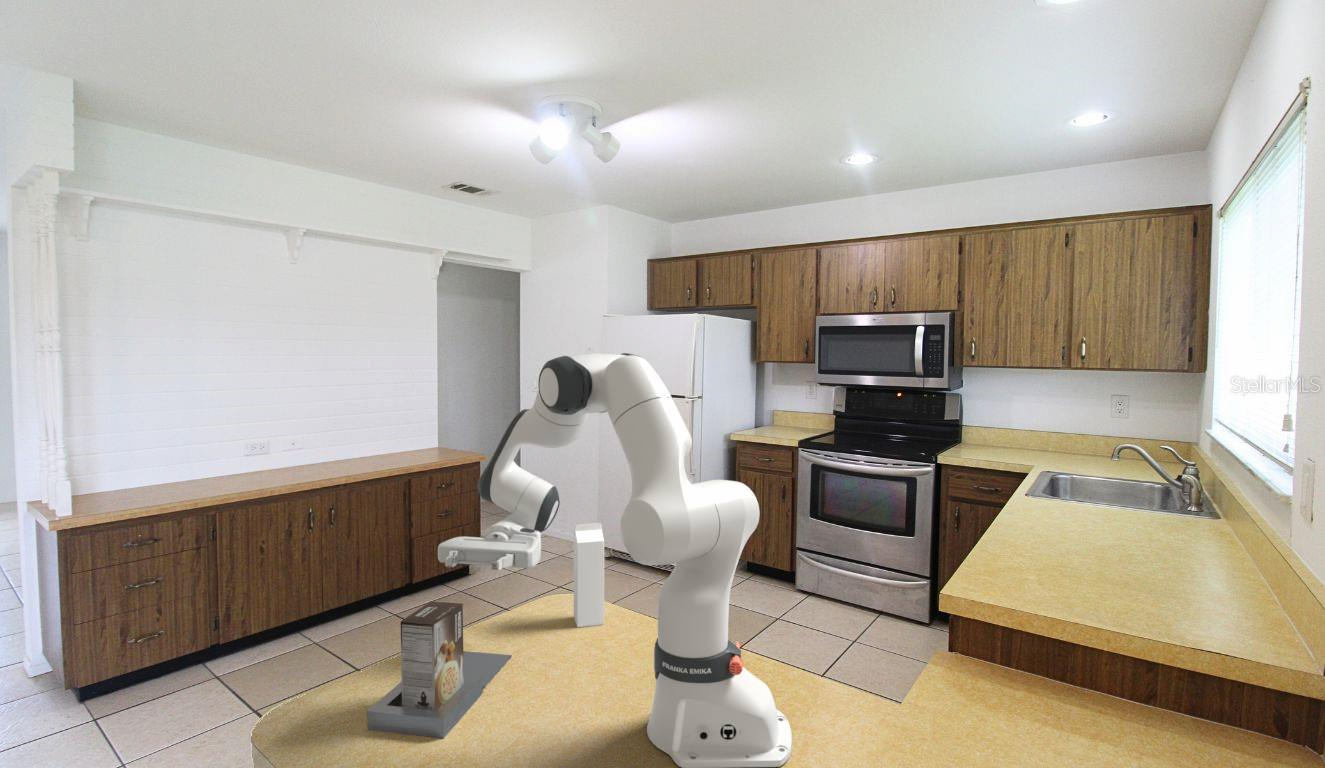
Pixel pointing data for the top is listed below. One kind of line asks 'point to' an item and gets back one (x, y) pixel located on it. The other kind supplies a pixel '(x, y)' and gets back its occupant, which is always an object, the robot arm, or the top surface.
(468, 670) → the rubber mat
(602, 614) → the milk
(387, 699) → the u-shaped bracket
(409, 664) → the coffee box
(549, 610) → the top surface
